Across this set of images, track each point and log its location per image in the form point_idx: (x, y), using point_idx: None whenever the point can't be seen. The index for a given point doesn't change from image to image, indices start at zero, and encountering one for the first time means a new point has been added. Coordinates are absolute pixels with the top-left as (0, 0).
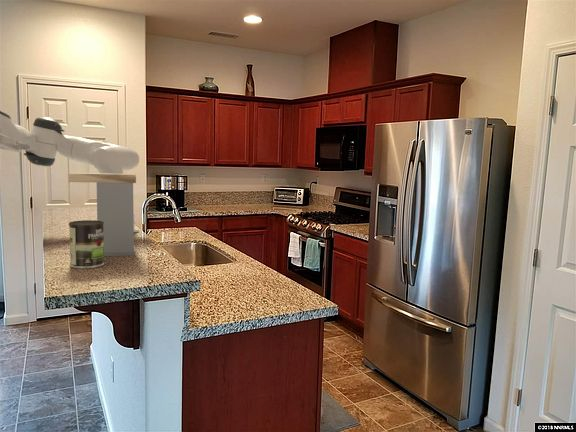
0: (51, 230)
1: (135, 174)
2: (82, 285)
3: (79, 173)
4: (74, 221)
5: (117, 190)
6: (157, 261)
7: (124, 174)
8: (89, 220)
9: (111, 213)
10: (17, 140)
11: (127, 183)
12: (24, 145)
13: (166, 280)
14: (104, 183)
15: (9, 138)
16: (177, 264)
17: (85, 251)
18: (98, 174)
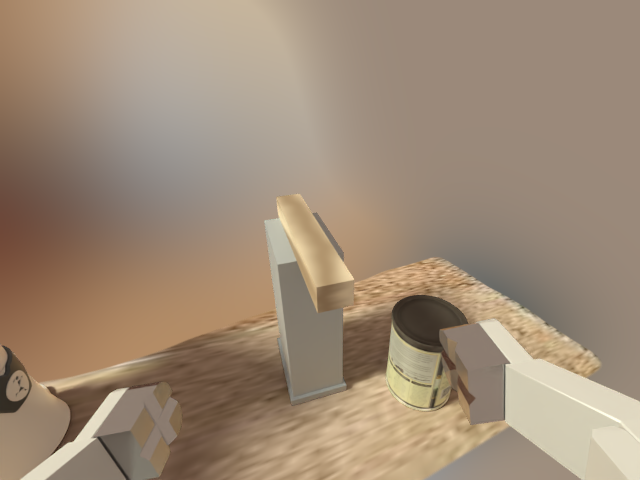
0: None
1: (291, 195)
2: (531, 344)
3: (335, 260)
4: (425, 344)
5: None
6: (361, 297)
7: (305, 203)
8: (396, 323)
9: None
10: (450, 327)
11: (319, 218)
12: (146, 433)
13: (451, 274)
14: (336, 243)
15: (552, 370)
16: (372, 277)
17: None
18: (323, 232)
